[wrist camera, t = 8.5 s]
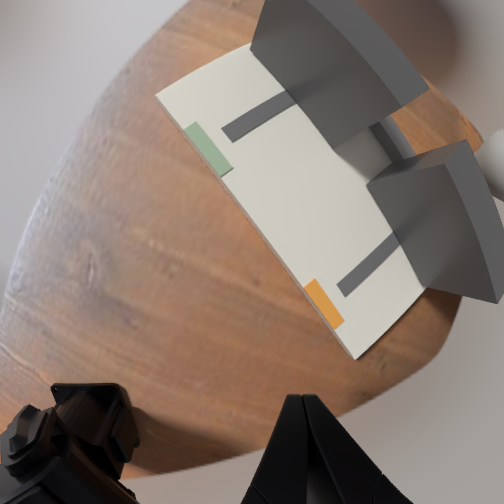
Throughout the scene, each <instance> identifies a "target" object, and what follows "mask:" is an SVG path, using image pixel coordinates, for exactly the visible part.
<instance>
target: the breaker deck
mask: <svg viewBox="0 0 504 504" xmlns="http://www.w3.org/2000/svg"><path fill="white" fill-rule="evenodd" d="M251 43H252V42H251ZM251 43H249V44H246V45H244V46H242V47H240V48H238V49H236V50H233V51H231V52H229V53H227V54H225V55H223V56H221V57H219V58H217V59H215V60H214V61H212V62H210V63H208V64H206V65H204V66H202V67H201V68H199V69H197V70H195V71H193V72H192V73H190V74H188V75H186V76H185V77H183V78H181V79H180V80H178V81H176V82H175V83H173V84H172V85H170V86H168V87H167V88H165V89H164V90H162V91H160V92H159V93H157V94H156V99H157V102H158V104H159V106H160V107H161V108H162V109H163V111H164V112H165V113H166V114H167V116H168V117H169V118H170V119H171V121H172V122H173V123H174V125H175V126H176V127H177V128H178V130H179V131H180V132H181V133H182V135H183V136H184V137H185V139H186V140H187V141H188V142H189V144H190V145H191V146H192V148H193V149H194V150H195V151H196V153H197V154H198V155H199V156H200V158H201V159H202V160H203V162H204V163H205V164H206V166H207V167H208V168H209V169H210V171H211V172H212V173H213V175H214V176H215V177H216V178H217V180H218V181H219V182H220V184H221V185H222V186H223V188H224V189H225V190H226V192H227V193H228V194H229V195H230V197H231V198H232V199H233V201H234V202H235V203H236V205H237V206H238V207H239V209H240V210H241V211H242V212H243V214H244V215H245V216H246V218H247V219H248V220H249V222H250V223H251V224H252V226H253V227H254V228H255V230H256V231H257V232H258V234H259V235H260V236H261V238H262V239H263V240H264V242H265V243H266V244H267V246H268V247H269V248H270V250H271V251H272V252H273V254H274V255H275V256H276V258H277V259H278V260H279V262H280V263H281V264H282V266H283V267H284V268H285V270H286V271H287V272H288V274H289V275H290V276H291V278H292V279H293V280H294V282H295V283H296V284H297V286H298V287H299V289H300V290H301V291H302V293H303V294H304V295H305V297H306V298H307V299H308V301H309V302H310V303H311V305H312V306H313V308H314V309H315V310H316V312H317V313H318V314H319V316H320V317H321V318H322V320H323V321H324V323H325V324H326V325H327V327H328V328H329V329H330V331H331V332H332V334H333V335H334V336H335V338H336V339H337V340H338V342H339V343H340V345H341V346H342V347H343V349H344V350H345V351H346V353H347V354H348V355H350V356H351V357H352V358H353V359H355V360H356V359H357V358H358V357H359V356H360V355H361V354H362V353H364V352H365V351H366V350H367V349H368V348H369V347H370V346H371V345H372V344H373V343H374V342H375V341H376V340H377V339H378V338H379V337H380V336H381V335H382V334H384V333H385V332H386V331H387V330H388V329H389V328H390V327H391V326H392V325H393V323H394V322H395V321H396V320H397V319H398V318H399V317H400V316H401V315H402V314H403V313H404V312H405V311H406V310H407V309H408V308H409V307H410V306H411V305H412V303H413V302H414V301H415V300H416V299H417V298H418V297H419V296H420V295H421V293H422V292H423V291H424V290H425V289H426V288H427V287H424V286H422V284H421V282H420V280H419V278H418V276H417V274H416V272H415V270H414V268H413V266H412V264H411V262H410V260H409V258H408V256H407V255H406V253H405V251H404V249H403V247H402V245H401V243H400V241H399V240H398V238H397V236H396V234H395V232H394V231H393V229H392V227H391V225H390V224H389V222H388V220H387V219H386V217H385V215H384V214H383V212H382V210H381V209H380V207H379V205H378V204H377V202H376V200H375V199H374V197H373V196H372V194H371V192H370V191H369V189H368V188H367V186H366V184H367V183H368V182H369V181H371V180H372V179H373V178H374V177H375V176H377V175H378V174H379V173H380V172H381V171H383V170H384V169H385V168H386V167H387V166H388V165H390V164H392V163H395V162H398V161H401V160H404V159H407V158H410V157H413V156H416V154H415V152H414V151H413V149H412V147H411V146H410V144H409V143H408V141H407V139H406V138H405V136H404V135H403V133H402V132H401V130H400V129H399V127H398V126H397V124H396V123H395V121H394V120H393V118H392V117H391V115H388V116H386V117H385V118H383V119H381V120H380V121H378V122H376V123H375V124H373V125H371V126H370V127H368V128H366V129H365V130H363V131H361V132H360V133H358V134H356V135H355V136H353V137H351V138H350V139H348V140H347V141H345V142H343V143H342V144H340V145H338V146H337V147H335V148H334V149H333V148H332V147H331V145H330V144H329V143H328V141H327V140H326V138H325V137H324V136H323V134H322V133H321V132H320V131H319V129H318V128H317V127H316V125H315V124H314V123H313V122H312V120H311V119H310V118H309V116H308V115H307V114H306V113H305V111H304V110H303V109H302V108H301V107H300V105H299V104H298V103H297V102H296V101H295V99H294V98H293V97H292V96H291V95H290V93H289V92H288V91H287V90H286V89H285V88H284V86H283V85H282V84H281V83H280V82H279V81H278V80H277V78H276V77H275V76H274V75H273V74H272V73H271V72H270V71H269V70H268V69H267V67H266V66H265V65H264V64H263V63H262V62H261V61H260V60H259V59H258V58H257V57H256V56H255V55H254V54H253V53H252V52H251V51H250V50H249V49H250V46H251Z"/></svg>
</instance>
